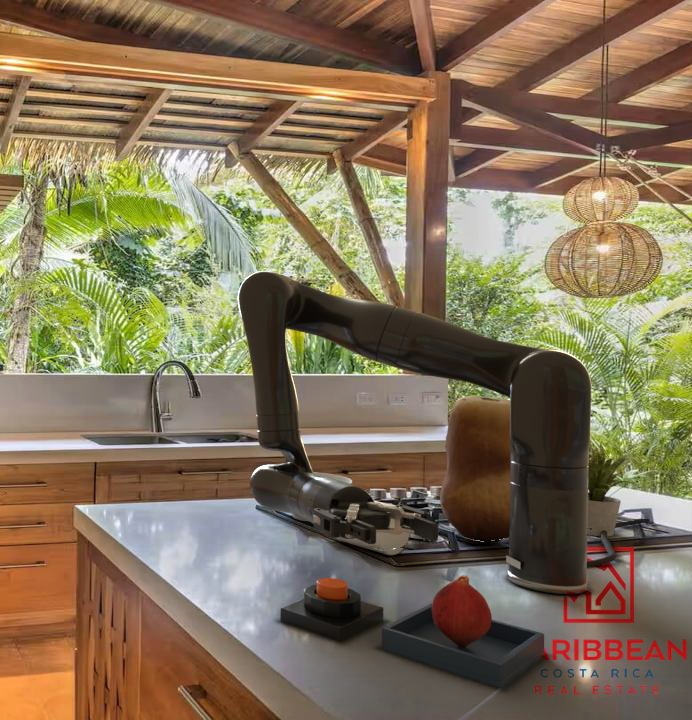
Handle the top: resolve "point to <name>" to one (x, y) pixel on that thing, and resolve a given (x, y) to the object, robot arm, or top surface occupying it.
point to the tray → (465, 648)
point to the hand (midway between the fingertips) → (405, 534)
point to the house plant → (603, 492)
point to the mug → (383, 539)
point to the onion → (461, 612)
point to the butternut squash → (478, 469)
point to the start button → (332, 588)
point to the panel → (332, 614)
